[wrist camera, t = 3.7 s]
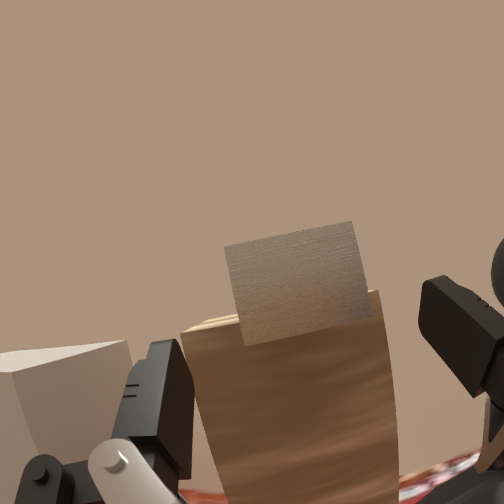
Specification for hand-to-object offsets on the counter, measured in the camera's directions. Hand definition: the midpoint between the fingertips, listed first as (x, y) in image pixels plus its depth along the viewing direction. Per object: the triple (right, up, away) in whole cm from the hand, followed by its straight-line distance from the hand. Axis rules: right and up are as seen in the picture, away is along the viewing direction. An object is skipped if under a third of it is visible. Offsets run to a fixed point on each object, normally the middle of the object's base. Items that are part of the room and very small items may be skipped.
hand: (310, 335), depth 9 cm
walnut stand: (+7, -33, +12) cm, 36 cm away
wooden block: (0, -1, +11) cm, 11 cm away
